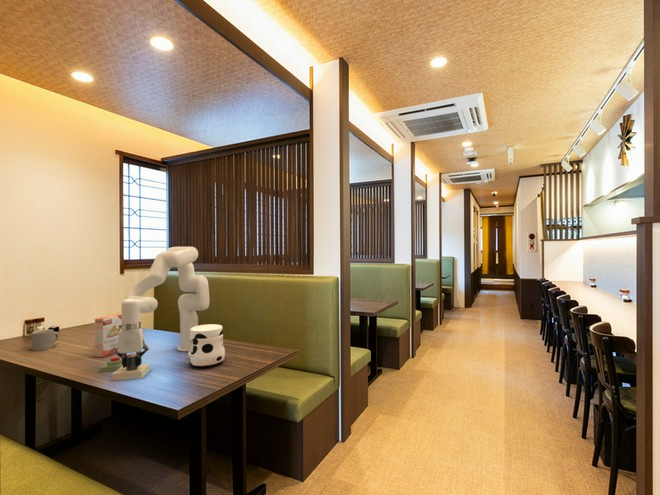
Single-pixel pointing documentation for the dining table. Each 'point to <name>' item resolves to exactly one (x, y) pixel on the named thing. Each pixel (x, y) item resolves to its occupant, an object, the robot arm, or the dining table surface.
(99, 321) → the cracker box
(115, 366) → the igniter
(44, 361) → the dining table surface
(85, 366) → the dining table surface
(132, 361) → the knob
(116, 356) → the button
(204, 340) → the milk container
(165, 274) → the robot arm
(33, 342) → the coffee mug
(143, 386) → the dining table surface
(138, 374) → the panel
